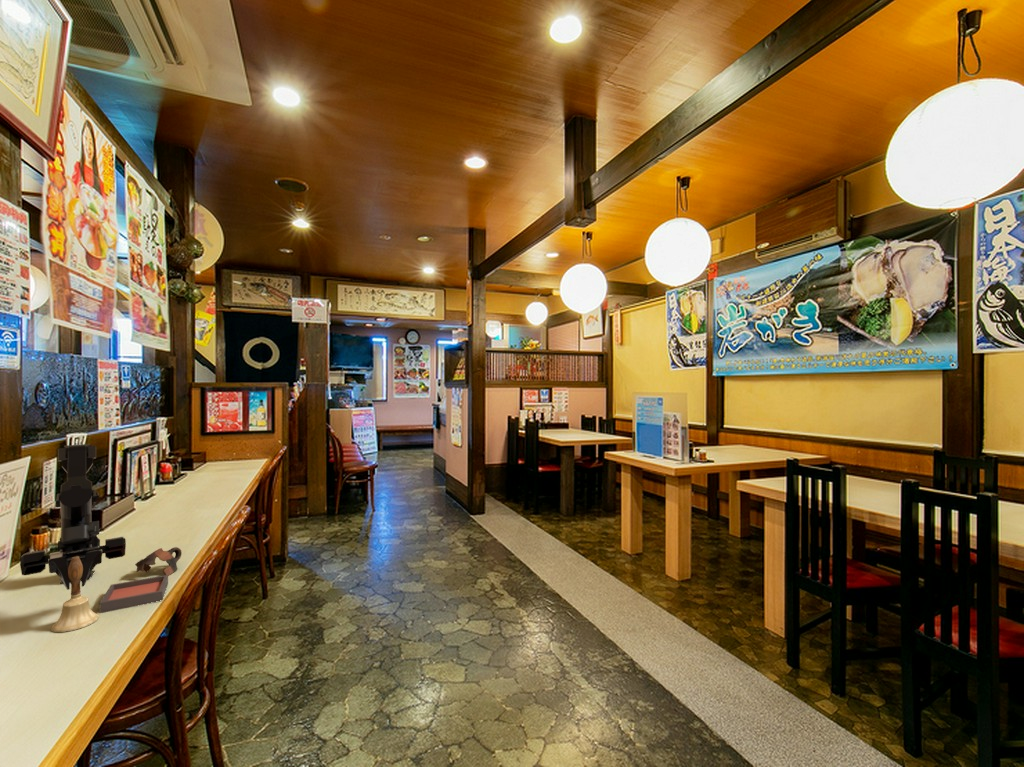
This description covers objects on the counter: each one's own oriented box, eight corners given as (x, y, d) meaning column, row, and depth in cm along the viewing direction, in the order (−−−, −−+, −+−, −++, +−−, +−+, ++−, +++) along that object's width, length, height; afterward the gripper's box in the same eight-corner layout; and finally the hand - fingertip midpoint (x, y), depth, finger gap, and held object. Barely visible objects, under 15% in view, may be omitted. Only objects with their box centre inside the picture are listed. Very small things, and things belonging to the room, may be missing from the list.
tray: (111, 593, 128) (110, 584, 128) (168, 583, 134) (168, 574, 134) (99, 613, 117) (99, 603, 117) (162, 600, 123) (162, 591, 123)
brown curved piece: (160, 582, 136) (143, 559, 135) (141, 592, 139) (124, 570, 138) (195, 557, 148) (179, 535, 147) (176, 567, 150) (161, 546, 149)
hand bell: (107, 616, 115) (107, 551, 115) (68, 634, 107) (68, 564, 107) (81, 613, 117) (81, 549, 117) (41, 630, 109) (41, 561, 109)
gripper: (20, 519, 108) (15, 581, 100) (125, 505, 121) (127, 559, 113) (24, 545, 114) (19, 605, 106) (123, 528, 127) (126, 582, 118)
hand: (75, 587), depth 111 cm, fingers closed on hand bell, 2 cm apart
